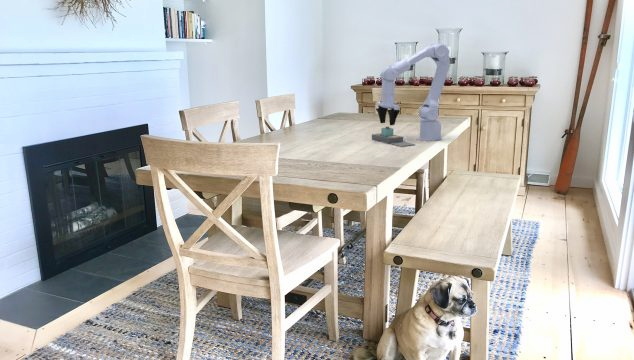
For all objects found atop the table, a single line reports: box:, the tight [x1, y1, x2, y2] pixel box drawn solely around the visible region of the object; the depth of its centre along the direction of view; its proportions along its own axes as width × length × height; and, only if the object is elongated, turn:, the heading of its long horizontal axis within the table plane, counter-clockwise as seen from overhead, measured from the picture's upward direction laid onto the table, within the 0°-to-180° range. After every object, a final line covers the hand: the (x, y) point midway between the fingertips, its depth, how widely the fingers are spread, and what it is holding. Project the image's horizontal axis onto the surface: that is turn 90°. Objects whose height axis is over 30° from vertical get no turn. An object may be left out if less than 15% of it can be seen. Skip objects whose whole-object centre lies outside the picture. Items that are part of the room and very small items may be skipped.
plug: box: [380, 126, 394, 137], centre depth 245 cm, size 4×4×7 cm
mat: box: [389, 141, 416, 148], centre depth 236 cm, size 8×8×1 cm
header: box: [371, 132, 404, 145], centre depth 246 cm, size 8×14×3 cm, turn 28°
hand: (387, 124), depth 244 cm, fingers open, 7 cm apart
